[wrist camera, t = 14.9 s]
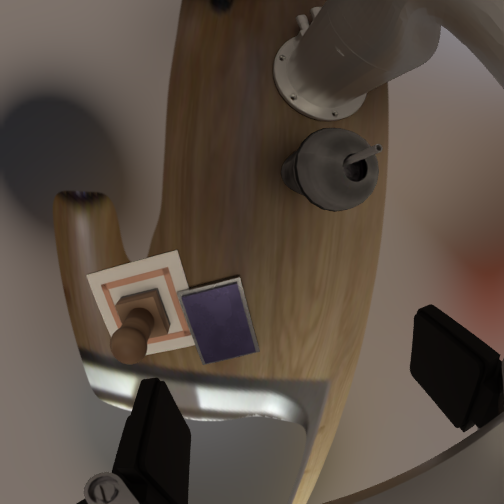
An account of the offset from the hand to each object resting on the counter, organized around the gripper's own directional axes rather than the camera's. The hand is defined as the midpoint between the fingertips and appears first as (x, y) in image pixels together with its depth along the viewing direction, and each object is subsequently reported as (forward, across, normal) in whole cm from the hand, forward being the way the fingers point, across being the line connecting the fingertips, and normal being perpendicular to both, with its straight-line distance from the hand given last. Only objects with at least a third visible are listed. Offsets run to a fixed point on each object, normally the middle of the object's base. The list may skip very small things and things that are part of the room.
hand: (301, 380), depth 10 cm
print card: (+27, +15, +7) cm, 31 cm away
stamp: (+26, +15, +7) cm, 31 cm away
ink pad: (+27, +6, +11) cm, 29 cm away
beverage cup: (+28, -8, -5) cm, 29 cm away
